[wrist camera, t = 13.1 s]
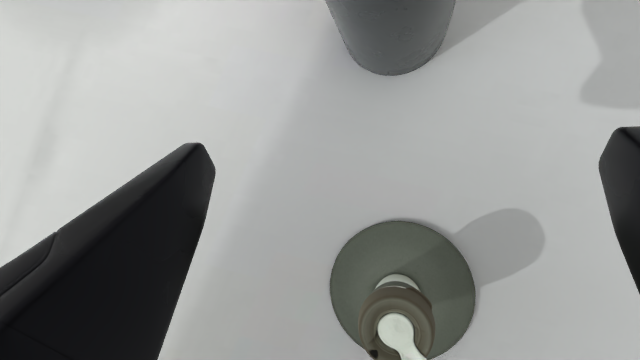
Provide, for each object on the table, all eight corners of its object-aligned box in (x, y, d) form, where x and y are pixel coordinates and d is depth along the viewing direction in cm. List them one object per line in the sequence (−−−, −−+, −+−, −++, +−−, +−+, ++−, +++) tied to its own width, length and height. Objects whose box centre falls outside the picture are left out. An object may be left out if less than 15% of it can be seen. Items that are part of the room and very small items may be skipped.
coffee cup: (401, 142, 20) (400, 132, 15) (571, 313, 18) (634, 365, 13) (253, 281, 22) (210, 313, 17) (393, 446, 20) (389, 534, 15)
